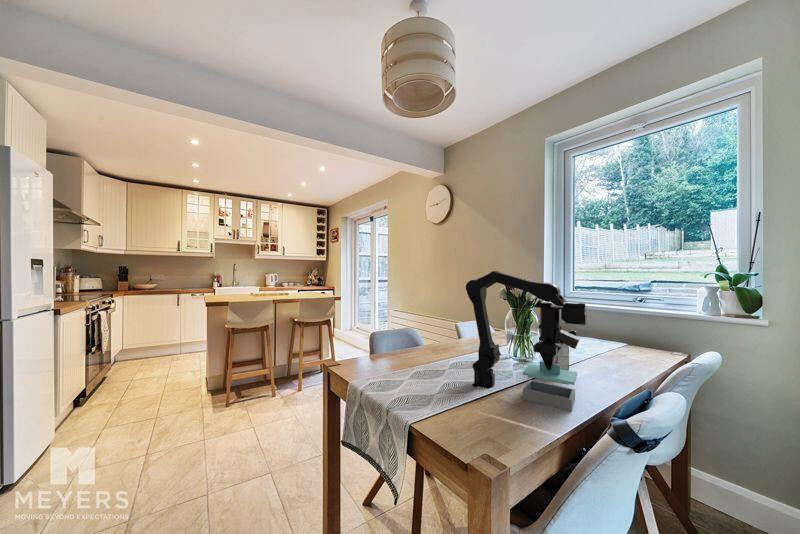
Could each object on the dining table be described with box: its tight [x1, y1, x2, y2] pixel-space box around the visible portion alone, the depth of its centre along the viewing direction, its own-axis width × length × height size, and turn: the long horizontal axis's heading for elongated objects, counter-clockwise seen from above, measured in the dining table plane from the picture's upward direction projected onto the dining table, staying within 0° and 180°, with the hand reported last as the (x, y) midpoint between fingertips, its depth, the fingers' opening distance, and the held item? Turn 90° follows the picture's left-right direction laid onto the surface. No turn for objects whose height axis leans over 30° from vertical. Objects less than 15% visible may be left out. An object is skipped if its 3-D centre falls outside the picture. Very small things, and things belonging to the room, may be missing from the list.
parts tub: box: [522, 379, 576, 412], centre depth 98 cm, size 14×10×4 cm
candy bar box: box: [553, 343, 570, 371], centre depth 123 cm, size 11×5×16 cm, turn 179°
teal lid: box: [522, 360, 578, 386], centre depth 97 cm, size 15×11×5 cm
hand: (549, 369), depth 97 cm, fingers closed on teal lid
